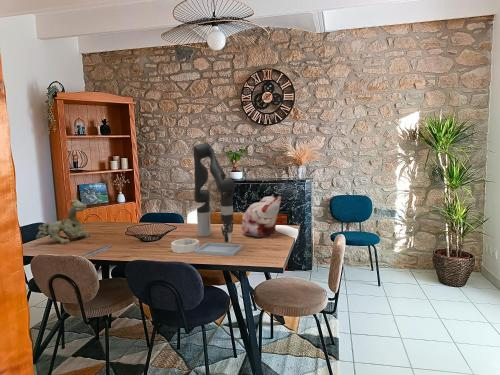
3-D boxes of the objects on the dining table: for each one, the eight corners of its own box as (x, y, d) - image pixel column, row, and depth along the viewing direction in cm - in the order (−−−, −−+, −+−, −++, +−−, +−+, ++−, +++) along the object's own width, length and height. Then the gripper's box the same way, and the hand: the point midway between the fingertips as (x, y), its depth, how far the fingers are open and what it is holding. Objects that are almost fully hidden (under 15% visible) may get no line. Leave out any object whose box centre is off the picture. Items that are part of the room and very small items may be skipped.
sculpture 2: (233, 236, 259) (233, 194, 255) (252, 227, 284) (252, 189, 280) (273, 242, 244) (275, 198, 240) (289, 233, 270) (291, 193, 266)
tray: (207, 246, 235) (207, 242, 235) (243, 248, 228) (242, 244, 227) (195, 254, 218) (194, 250, 218) (232, 257, 211) (232, 252, 210)
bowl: (180, 246, 238) (180, 238, 237) (202, 247, 233) (202, 239, 232) (167, 253, 223) (167, 244, 222) (191, 254, 218) (190, 246, 217)
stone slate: (187, 246, 232) (186, 239, 232) (193, 247, 231) (193, 239, 230) (183, 248, 228) (183, 241, 228) (190, 249, 227) (189, 241, 226)
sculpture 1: (74, 246, 242) (60, 203, 238) (41, 254, 248) (26, 211, 244) (100, 233, 270) (88, 194, 267) (70, 240, 276) (57, 202, 272)
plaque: (82, 262, 210) (82, 261, 210) (69, 261, 213) (69, 260, 213) (118, 247, 241) (118, 246, 241) (106, 246, 244) (106, 245, 244)
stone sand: (225, 240, 224) (225, 232, 223) (232, 240, 222) (232, 232, 222) (223, 241, 219) (222, 233, 219) (230, 242, 218) (229, 234, 217)
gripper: (225, 210, 226) (226, 237, 229) (216, 215, 213) (217, 243, 215) (236, 211, 224) (237, 238, 226) (228, 215, 211) (229, 244, 213)
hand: (227, 240), depth 221 cm, fingers closed on stone sand, 4 cm apart
